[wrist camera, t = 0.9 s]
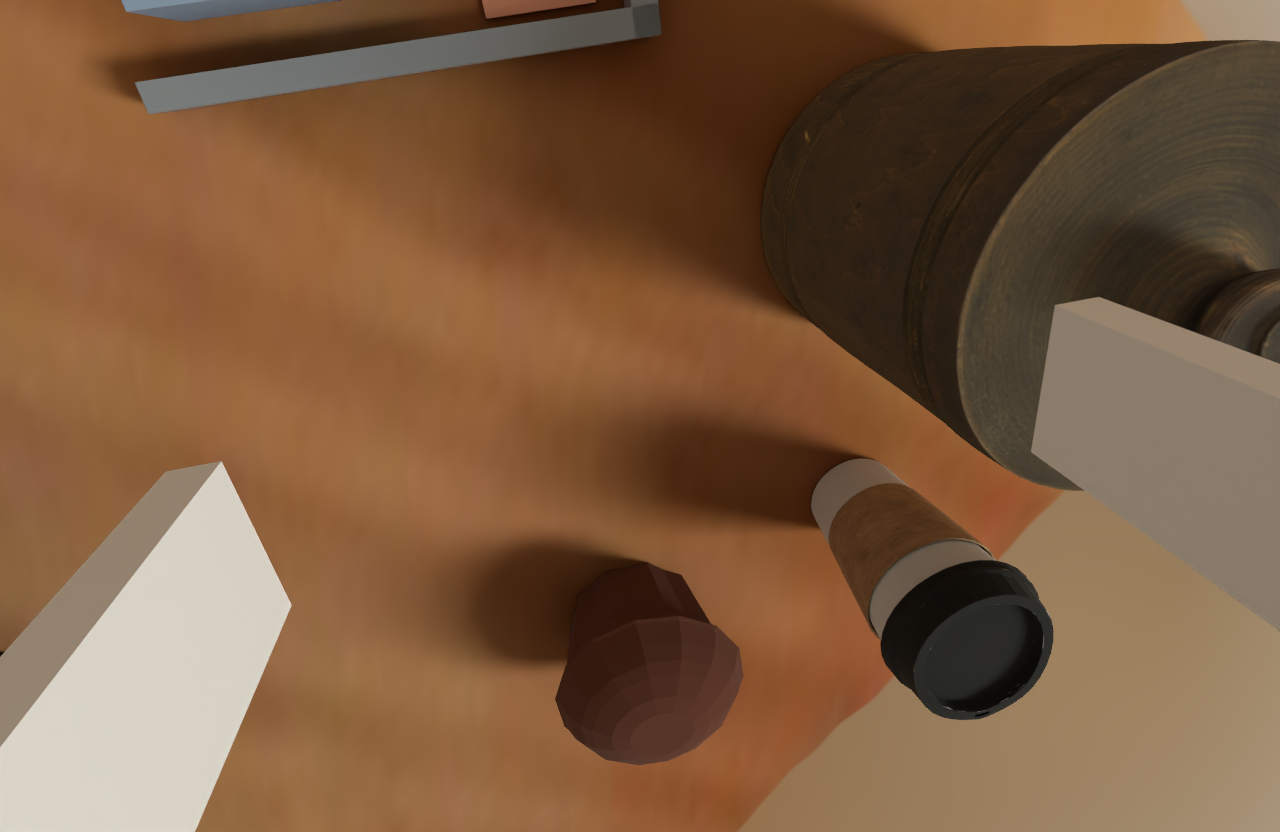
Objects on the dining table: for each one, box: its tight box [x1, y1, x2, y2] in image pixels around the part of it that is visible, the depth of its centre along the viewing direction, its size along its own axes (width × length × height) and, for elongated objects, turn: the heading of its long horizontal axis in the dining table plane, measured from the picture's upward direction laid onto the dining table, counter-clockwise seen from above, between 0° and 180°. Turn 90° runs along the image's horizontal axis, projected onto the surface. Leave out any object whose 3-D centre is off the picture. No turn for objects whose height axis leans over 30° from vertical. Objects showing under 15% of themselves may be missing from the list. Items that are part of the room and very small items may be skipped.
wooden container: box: [761, 40, 1280, 491], centre depth 28 cm, size 15×15×22 cm
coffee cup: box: [811, 458, 1053, 720], centre depth 39 cm, size 8×8×15 cm
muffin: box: [555, 562, 743, 765], centre depth 43 cm, size 12×11×10 cm
